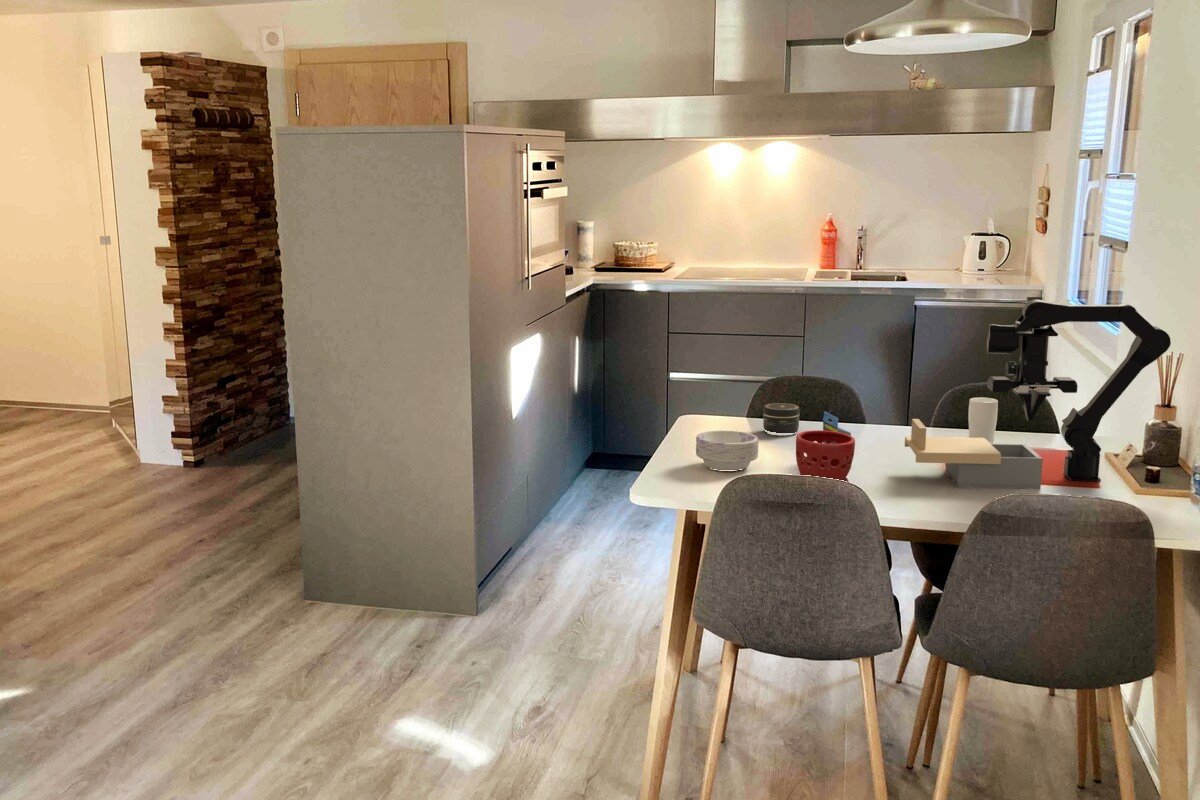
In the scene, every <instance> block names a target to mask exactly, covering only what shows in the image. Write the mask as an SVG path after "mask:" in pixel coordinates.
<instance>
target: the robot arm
mask: <svg viewBox="0 0 1200 800" xmlns="http://www.w3.org/2000/svg"><path fill="white" fill-rule="evenodd" d="M1068 322H1070V323H1076V322H1077V323H1084V322H1085V323H1087V322H1088V323H1122V324H1123V325H1124V326H1125V327H1126V328H1127V329H1128V330H1129V331H1130V332H1131V333H1132V334H1133V335H1134V336H1135V338H1134V339H1133V341H1132V343H1131V345H1130V347H1129V349H1128V352H1127V355H1126V356H1125V358H1124V360H1123V361H1122V362H1121V363H1120V364H1119V365H1118V367H1117V368H1116V369H1115V370H1114V372H1113V373H1112V374H1111V375H1110V376H1109V377H1108V378H1107V380H1106V382H1105V383H1104V384H1103V385H1102V386H1101V387H1100V389H1098V391H1097V392H1096V393H1095V395H1093V397H1092V398H1091V399H1090V400H1089V402H1088V403H1087V404H1086V405H1085V406H1084V407H1082V408H1081V409H1079V410H1077V409H1076V408H1075V407H1073V408H1072V409H1070V411H1069V414H1068V415H1067V416H1066V417H1065V418H1064V419H1061V422H1062V425H1061V427H1060V433H1061V436H1062V438H1063V439H1064V441H1065V443H1066V444H1067V445H1068V446H1069V447H1070V448H1071V449H1068V450H1067V456H1064V464H1063V465H1064V467H1063V474H1065V475H1064V476H1066V477H1067V478H1068V479H1069V480H1071V481H1073V482H1077V481H1078V482H1101V481H1102V479H1101V478H1100V477H1099V474H1100V473H1099V471H1100V460H1101V451H1102V447H1100V445H1099V443H1098V442H1097V441H1096V439H1094V435H1095V434H1096V432H1097V431H1098V427H1099V425H1100V423H1101V420H1102V418H1104V416H1105V414H1107V412H1108V411H1109V410H1110V408H1111V407H1112V406H1113V405H1114V404H1115V402H1116V401H1118V399H1119V398H1120V396H1121V395H1123V393H1124V392H1125V391H1126V389H1127V388H1128V387H1129V386H1130V385H1131V383H1133V381H1134V380H1135V378H1136V377H1137V376H1138V375H1140V373H1141V372H1142V370H1143V369H1144V368H1146V367H1147V366H1149V365H1150V364H1152V363H1153V362H1155V361H1157V360H1158V359H1159V358H1160V357H1161V356H1162V355H1164V354H1165V353H1166V352H1167V351H1168V350H1169V348H1170V347H1171V343H1172V342H1171V337H1170V335H1169V333H1168V332H1166V331H1165V330H1163V329H1162V328H1159V327H1158V326H1155V325H1154V326H1153V325H1152V324H1151V323H1150V322H1149V321H1147V320H1146V318H1144V317H1143V316H1142V315H1141V314H1140V313H1139V312H1138V311H1137V309H1136V308H1135V307H1134V306H1132V305H1130V304H1128V303H1119V304H1065V303H1059V302H1054V301H1049V300H1044V299H1043V300H1042V299H1036V298H1034V299H1031V300H1029V301H1027V302H1026V303H1025V304H1024V306H1023V308H1022V314H1021V315H1020V316H1019V317H1018V318H1017V319H1016V320H1015V321H1014V323H1013V324H1011V325H1010V324H1009V325H1008V324H1007V325H1006V324H1001V325H1000V324H996V323H992V324H991V323H990V324H989V328H988V329H989V330H988V335H987V337H986V354H993V355H997V354H999V355H1000V354H1001V355H1013V354H1014V352H1016V351H1018V350H1019V347H1020V356H1019V357H1018V358H1019V359H1018V363H1016V361H1014V360H1013V361H1012V360H1010V361H1009V360H1008V361H1006V362H1005V366H1004V367H1005V371H1004V372H1005V376H989V377H988V379H987V387H986V388H987V389H988V390H990V391H991V392H992V393H993V392H994V393H1007V392H1008V393H1009V391H1010V390H1012V393H1014V394H1015V395H1016V396H1018V398H1019V399H1020V401H1021V403H1022V408H1023V411H1024V414H1025V419H1026V421H1027V422H1032V421H1033V419H1034V418H1035V415H1036V414H1037V413H1038V410H1039V408H1040V406H1041V405H1042V404H1043V402H1044V401H1045V400H1046V398H1047V397H1051V395H1052V394H1051V393H1050V390H1052V389H1053V390H1055V389H1056V390H1057V389H1058V390H1060V391H1061V392H1062V393H1063V394H1064V393H1065V394H1072V393H1073V394H1077V393H1078V382H1077V381H1076V380H1075V379H1073V378H1072V377H1069V376H1054V377H1053V378H1052V380H1048V379H1047V366H1049V361H1048V351H1049V338H1050V337H1058V336H1059V333H1058V332H1057V331H1056V330H1055V329H1054V327H1053V326H1054V325H1058V324H1062V323H1068ZM1044 327H1045V328H1044ZM1029 330H1031V331H1029ZM1020 336H1021V345H1020ZM1007 376H1013V379H1012V380H1011V379H1010V378H1008V377H1007ZM1029 391H1030V392H1029Z"/></svg>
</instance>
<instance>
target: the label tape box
mask: <svg viewBox="0 0 1200 800" xmlns="http://www.w3.org/2000/svg"><path fill="white" fill-rule="evenodd" d="M822 418H823V419H822V431H834V432H840V433H844V434H847V435H850V436H852V433H851V432H850V431H848V430H846V429H844V428H841V427H839V419H840V418H838V417H837V416H835V415H832V414H830V413H829V412H827V411H823V417H822ZM830 420H831V421H830ZM823 444H827V443H826V442H825V441H824V442H823ZM830 444H837V443H836V442H831V443H830ZM845 460H846V457H845Z"/></svg>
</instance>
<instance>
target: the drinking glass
mask: <svg viewBox="0 0 1200 800" xmlns="http://www.w3.org/2000/svg"><path fill="white" fill-rule="evenodd" d="M998 406H999V400H998V399H996V398H991V397H990V398H989V397H980V396H979V397H972V398H970V399H969V401H968V438H985V439H986V440H987V441H988V442H989V443H994V440H995V433H996V429H997V428H996V426H997V422H998V412H999V407H998Z"/></svg>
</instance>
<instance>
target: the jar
mask: <svg viewBox="0 0 1200 800" xmlns="http://www.w3.org/2000/svg"><path fill="white" fill-rule="evenodd" d="M762 411H763V412H762V413H763V420H762V421H763V424H762V425H763V430H764V429H765V430H767V431H770V432H776V433H795V432H797V431H798V430H799V428H800V427H799V426H800V407H799V406H798V405H796V404H793V403H786V402H785V403H783V402H781V403H780V402H778V403H777V402H775V403H773V402H772V403H768V404H765V405H764V406H763V410H762ZM797 433H798V432H797Z"/></svg>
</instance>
